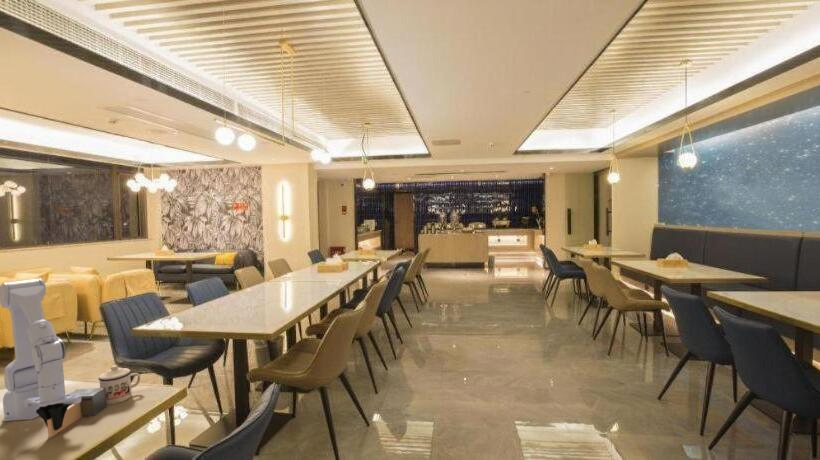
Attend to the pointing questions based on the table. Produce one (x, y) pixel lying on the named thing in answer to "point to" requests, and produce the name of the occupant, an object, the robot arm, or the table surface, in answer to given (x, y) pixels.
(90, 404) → the dispenser
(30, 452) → the table surface
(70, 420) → the long wooden plank
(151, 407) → the table surface
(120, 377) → the teacup with lid
